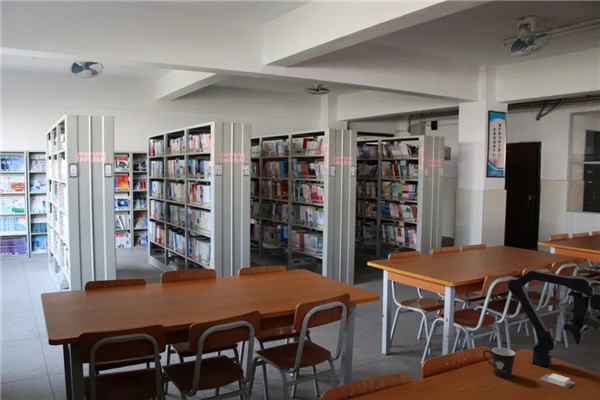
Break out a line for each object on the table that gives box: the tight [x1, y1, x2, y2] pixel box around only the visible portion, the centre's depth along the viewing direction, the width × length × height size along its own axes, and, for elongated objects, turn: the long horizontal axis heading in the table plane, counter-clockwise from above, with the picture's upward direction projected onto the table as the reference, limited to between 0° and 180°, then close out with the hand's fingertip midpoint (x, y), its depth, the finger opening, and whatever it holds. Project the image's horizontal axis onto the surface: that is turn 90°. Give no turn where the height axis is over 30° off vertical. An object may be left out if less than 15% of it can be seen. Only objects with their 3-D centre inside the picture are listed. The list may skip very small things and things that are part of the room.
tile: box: [547, 373, 571, 388], centre depth 186 cm, size 6×2×6 cm
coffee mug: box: [482, 347, 516, 379], centre depth 193 cm, size 12×9×10 cm
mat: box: [539, 373, 576, 389], centre depth 187 cm, size 10×8×1 cm
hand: (578, 344), depth 196 cm, fingers closed
